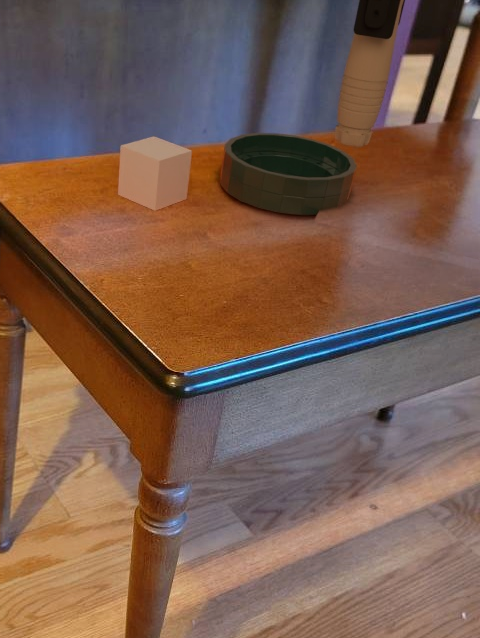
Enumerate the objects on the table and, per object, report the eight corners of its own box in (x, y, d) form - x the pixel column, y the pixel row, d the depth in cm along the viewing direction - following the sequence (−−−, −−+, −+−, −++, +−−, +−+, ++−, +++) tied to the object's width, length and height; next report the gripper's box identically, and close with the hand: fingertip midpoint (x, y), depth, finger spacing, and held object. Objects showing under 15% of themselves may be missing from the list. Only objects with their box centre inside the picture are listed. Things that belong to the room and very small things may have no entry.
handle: (335, 129, 73) (372, -48, 64) (393, 147, 70) (440, -36, 61) (308, 138, 70) (343, -46, 61) (367, 157, 67) (413, -34, 58)
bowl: (355, 186, 101) (364, 150, 98) (335, 231, 88) (345, 190, 85) (238, 160, 104) (244, 124, 101) (203, 199, 91) (208, 159, 88)
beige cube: (117, 195, 90) (120, 145, 86) (149, 184, 94) (153, 136, 90) (155, 211, 87) (159, 160, 84) (186, 199, 91) (192, 150, 88)
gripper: (491, -260, 46) (411, 56, 57) (492, -231, 59) (427, 21, 70) (370, -268, 47) (315, 41, 58) (397, -238, 61) (348, 10, 72)
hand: (376, 27), depth 64 cm, fingers closed on handle, 5 cm apart
